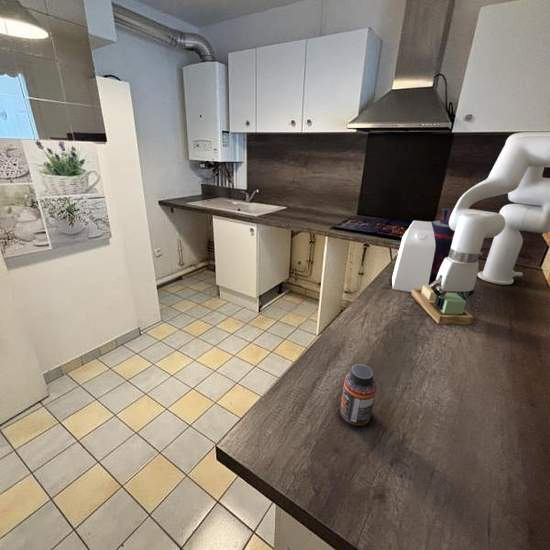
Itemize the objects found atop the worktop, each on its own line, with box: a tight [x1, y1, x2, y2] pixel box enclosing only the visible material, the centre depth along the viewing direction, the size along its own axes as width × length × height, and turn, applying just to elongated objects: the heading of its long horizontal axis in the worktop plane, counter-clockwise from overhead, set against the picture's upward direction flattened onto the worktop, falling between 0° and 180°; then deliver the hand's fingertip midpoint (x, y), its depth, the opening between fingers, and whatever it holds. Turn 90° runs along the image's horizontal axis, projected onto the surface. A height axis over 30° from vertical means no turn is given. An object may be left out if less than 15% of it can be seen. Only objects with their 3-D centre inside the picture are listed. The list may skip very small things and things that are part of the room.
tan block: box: [421, 284, 449, 301], centre depth 103 cm, size 6×6×4 cm
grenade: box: [429, 206, 455, 284], centre depth 116 cm, size 14×12×30 cm
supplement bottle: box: [339, 363, 377, 427], centre depth 56 cm, size 6×6×11 cm
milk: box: [391, 220, 436, 293], centre depth 111 cm, size 12×12×26 cm
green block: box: [434, 292, 467, 314], centre depth 94 cm, size 6×6×4 cm
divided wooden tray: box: [410, 289, 475, 325], centre depth 99 cm, size 10×20×3 cm, turn 0°
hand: (448, 307), depth 95 cm, fingers closed on green block, 6 cm apart
